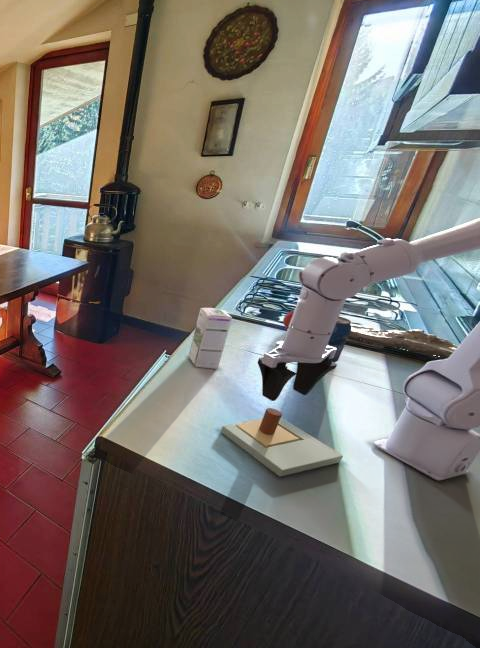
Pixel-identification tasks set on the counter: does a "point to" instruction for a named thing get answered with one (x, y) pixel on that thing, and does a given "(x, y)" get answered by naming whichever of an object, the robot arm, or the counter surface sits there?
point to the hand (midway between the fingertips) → (284, 394)
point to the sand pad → (265, 438)
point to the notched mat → (286, 450)
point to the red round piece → (287, 319)
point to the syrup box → (209, 337)
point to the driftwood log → (405, 341)
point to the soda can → (339, 336)
